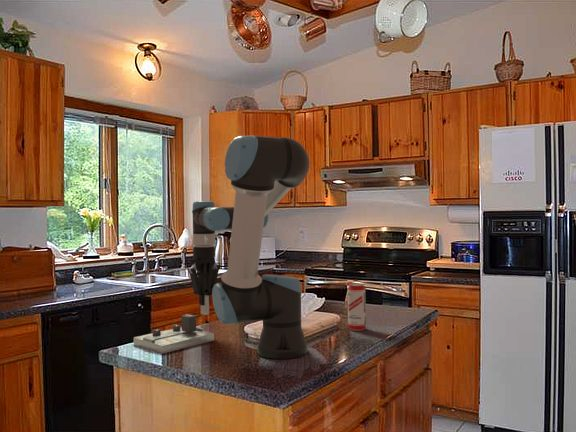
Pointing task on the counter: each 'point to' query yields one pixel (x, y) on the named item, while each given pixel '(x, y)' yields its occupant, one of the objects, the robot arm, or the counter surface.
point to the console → (172, 339)
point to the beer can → (356, 307)
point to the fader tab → (188, 323)
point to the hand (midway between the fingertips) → (204, 314)
